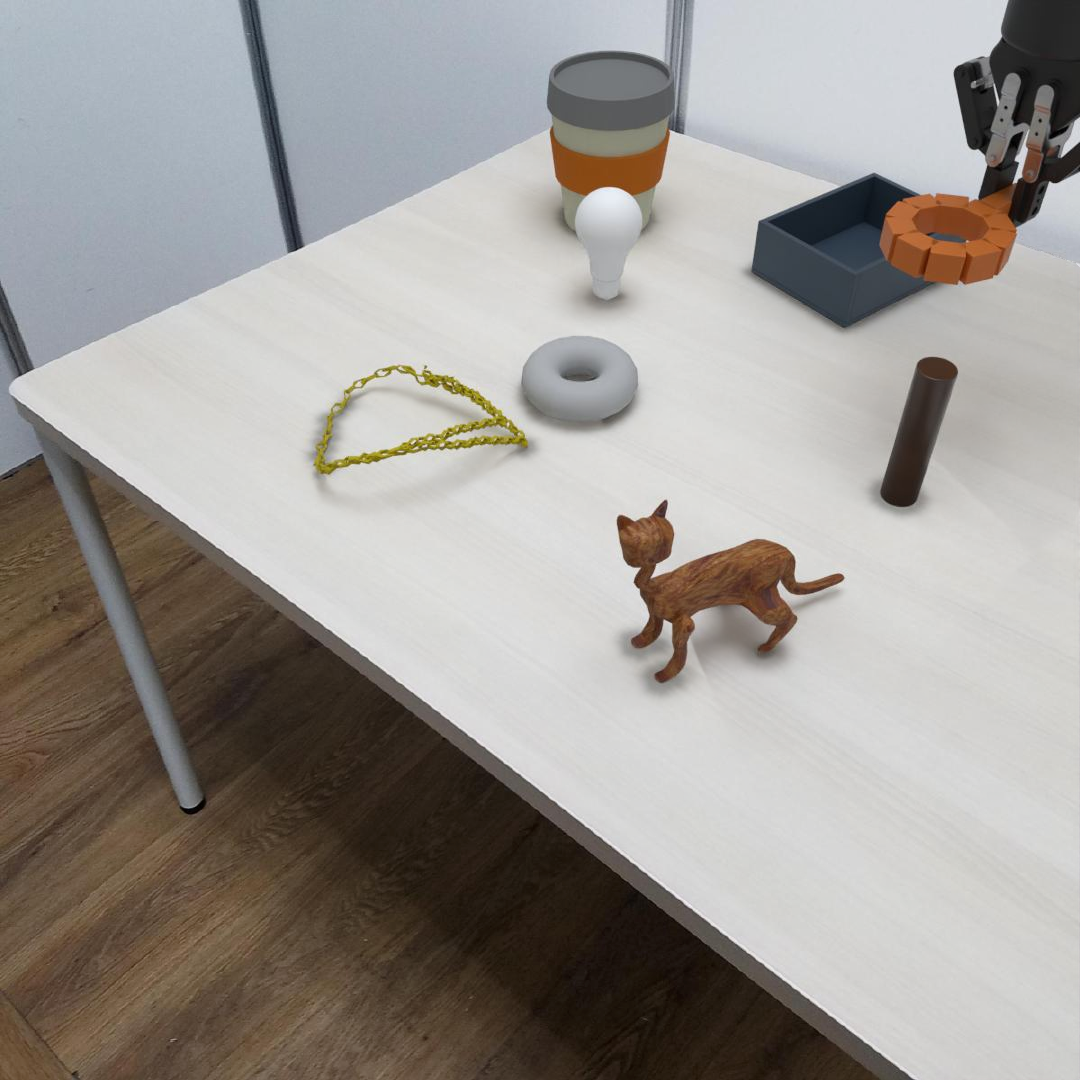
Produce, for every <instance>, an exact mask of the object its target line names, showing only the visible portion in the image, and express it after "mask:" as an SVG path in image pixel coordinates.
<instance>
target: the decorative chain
mask: <svg viewBox="0 0 1080 1080" xmlns="http://www.w3.org/2000/svg"><path fill="white" fill-rule="evenodd" d="M422 366H423V369H422V373H421V374H418V373H417V371H416V370H415V369H414V368H413V367H412V366H411V365H404V364H398V365H390V366H388V367H382V368H379V369H376V370H375V371H374V372H373V374H371V375H370V376H367V377H362V378H360V379H357V380H354V381H353V382H352V385H351V386H350V387H348V388H347V389H344V390H343V396H344V397H343V400H342V401H341V402H335V403H334V404H333V405H332V407H331V408H330V413H329V415H327V416H326V421H327V427H326V428H324V431H323V433H322V438H323V440H322V441H320V442H318V443H317V444H315V450H316V451H317V453H318V454H317V455H316V457H315V460H314V462H313V464H312V466H314V467H315V468H316V471H317V472H318V473H319V474H320V475H323V476H324V474H326V475H328V476H330V475H331V474H332V473H333V472H335V470H336V469H343V468H348V467H350V466H352V465H359V466H360V465H361V464H366V465H370V464H371V463H379V462H380V461H383V460H386V459H389V458H392V457H398V456H399V457H400V456H406V455H407V454H416V453H419V452H422V451H423V452H427V451H428V450H431V451H436V450H440V451H444V450H445V449H447V450H449V451H452V450H453V449H455V450H456V451H458V450H459V449H461V448H462V449H471V448H473V447H474V446H475V447H476V446H479V445H480V446H481V447H482V446H485V445H489V446H491V445H493V446H497V445H504V446H508V445H511V444H512V445H517V446H519V445H520V446H522V448H523V449H525V448H527V447H529V441H528V439H527V438H526V434H525V432H524V430H522V429H519V427H518V426H515V424H514V422H513V421H512V419H508V417H507V416H506V415H504V414H503V412H502V409H497V407H496V405H495V406H494V405H492V402H491V400H490V399H489V400H488V399H486V398H485V397H484V396H482V395H481V393H480V392H479V390H475V389H474V388H470V387H468V386H467V385H465V384H462V383H461V381H459V380H458V379H455V376H454V375H453V376H449V375H448V374H445V375H441V374H433V372H432V371H431V370H429V369H427V368H428V365H425V364H422ZM399 367H401V369H399ZM380 371H381V372H383V373H384V372H386V373H385V374H384V375H379V373H378V372H380ZM392 371H397V372H398V373H400V374H401V375H402V374H403V375H411V376H413V377H414V378H415V381H416V383H417V384H419V385H420V386H427V385H428V386H430V387H432V388H437V389H438V388H439V387H440V386H442V388H443V389H444V390H445V391H447V392H449V393H450V394H451V395H460V396H461V397H466V398H469V399H470V402H471V403H474V404H475V405H476V406H480V407H481V411H486V414H488V415H490V416H491V417H484V418H483V419H481V420H480V421H479V420H475V421H468V422H467V424H465V423H460V424H455V425H454V426H453V427H452V426H451V427H447V428H446V429H444V430H443V431H442V432H441V433H440V434H439V433H437V434H434V433H430V432H429V433H428V432H427V434H426V435H425V436H424V435H423V436H418V437H411V438H410V439H409V440H408V441H404V442H401V444H400V445H398V446H396V447H393V448H390V449H385V448H384V449H379V450H378V451H373V452H371V453H367V452H362V453H361V454H359V455H347V456H346V457H344V458H339V459H334V460H333V462H326V460H325V456H324V455H323V454H324V452H325V450H326V448H327V447H328V440H329V438H330V437H332V436H333V432H332V431H331V430H332V426H333V425H334V423H333V420H332V419H333V417H334V415H336V414H338V413H340V412H341V411H342V410H344V409H345V407H346V406H347V402H349V401H350V400H351V399H352V396H351V393H352V392H353V391H354V390H356V389H363V387H365V385H366V384H367V383H368V382H370V381H372V380H374V379H375V378H377V379H378V378H386V377H388V376H390V375H391V374H392ZM418 377H421V378H423V379H424V381H420V380H419V378H418ZM358 383H360V385H361V386H356V385H357V384H358ZM455 383H456V384H455ZM346 394H347V395H348V397H346ZM336 407H340V408H339V409H337V410H336V411H334V408H336ZM508 423H509V425H507V424H508ZM493 426H494V427H497V426H499V427H500V428H501V429H503V428H504V429H505V430H508V431H509V433H512V434H513V435H511V434H508V435H506V436H502V435H497V434H495V435H493V436H492V437H491V436H489V435H483V434H482V435H481V436H479V437H477V436H476V435H475V436H474V437H469V438H468V439H467V440H466V439H458V438H456V439H455V440H454V441H452V440H451V441H450V440H448V439H449V438H452V437H453V436H454V435H456V436H459V435H460V434H461V433H462V434H466V433H467V432H470V433H472V432H473V431H474V430H477V431H478V430H480V429H482V430H485V429H486V428H487V427H489V428H492V427H493ZM327 433H328V434H327ZM429 438H431V439H429ZM428 439H429V440H428ZM441 444H444V445H442V446H441ZM321 446H324V447H323V448H320V447H321Z"/></svg>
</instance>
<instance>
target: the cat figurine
mask: <svg viewBox="0 0 1080 1080" xmlns="http://www.w3.org/2000/svg"><path fill="white" fill-rule="evenodd" d="M668 505H669V502H668V499H664V500H663V501H661V503H660V504H659V505H658V506H657V507H656V508H655V509H654V511H653V512H652V514H651V515H649V516H647V517H640V518H639V519H636V520H633V519H632V518H630V517H629V516H627V515H624V514H618V516H617V518H616V528H617V531H618V539H619V544H620V548H621V552H622V558H623V560H624V562H625V563H626V565H627V566H629V567H631V568H633V569H638V568H639V570H638V571H637V572H636V574H635V576H634V579H633V582H632V583H633V584H634V585H635V586H636V588H637V589H639V596H640V598H641V599H642V600H643V602H644V604H645V605H646V608H647V611H648V615H649V616H648V620H647V622H646V624H645V626H644V627H643V628H642V630H641V632H640V633H638V634H637V635H635V636H634V637H631V639H630V643H631V645H632V647H634V648H635V649H644V648H646V647H648V646H650V645H651V644H653V643H654V642H655V641H657V639H658V638H659V637H660V636H661V634H662V631H663V628H664V621H666V622H668V623H670V624H671V632H672V633H671V634H672V635H671V643H672V648H673V653H672V656H671V657H670V659H669V661H668V662H667V664H666V665H665V667H664V668H662V669H661V670H659V671H656V672H655V673H654V674H653V676H654V680H655V681H656V682H658V683H660V684H664V683H666V682H668V681H670V680H671V679H673V678H675V677H676V676H677V675H679V674H680V672H681V671H682V670H683V669H684V667H685V665H686V662H687V657H688V641H689V639H690V637H691V636H692V634H693V632H694V631H695V630H696V625H695V622H694V620H693V618H692V617H693V616H694V615H696V614H697V613H698V612H700V611H705V610H708V609H712V608H716V607H723V606H724V607H725V606H736V605H737V606H741V607H743V608H745V609H747V610H748V611H749V612H750V613H752V614H753V616H755V617H756V618H757V619H758V620H759V621H760V622H761V623H763V624H765V625H770V626H773V627H775V628H774V629H773V630H772V632H771V633H770V635H769V637H768V639H767V641H766V642H764V643H761V644H760V645H759V646H758V647H757V650H756V651H757V652H758V653H767V652H770V651H772V650H774V649H775V648H776V646H777V645H779V643H780V642H781V641H782V640H783V639H784V638H785V637H786V636H787V635H788V634H789V632H790V631H792V629H793V628H794V626H795V625H796V624H797V622H798V616H797V615H796V614H795V612H793V611H792V609H791V607H790V606H789V605H788V603H787V602H786V601H785V600H784V599H783V597H781V594H780V592H779V589H778V585H779V583H781V586H782V587H784V589H785V590H786V591H787V592H788V593H790V594H791V595H795V596H806V595H812V594H815V593H818V592H821V591H824V590H826V589H828V588H831V587H834V586H836V585H838V584H840V583H842V582H843V581H844V580H845V578H846V577H845V576H844V574H843V573H839V572H838V573H833V574H830V575H827V576H824V577H821V578H818V579H815V580H812V581H806V582H799V581H797V580H796V575H795V573H796V572H795V571H796V564H797V561H796V557H795V555H794V554H793V553H792V552H791V550H790V549H788V548H787V547H786V546H784V545H782V544H780V543H777V542H775V541H772V540H768V539H765V538H755V539H750V540H748V541H745V542H743V543H741V544H738V545H736V546H734V547H731V548H728V549H725V550H721V551H718V552H717V551H716V552H714V553H710V554H706V555H704V556H701V557H698V558H695V559H693V560H691V561H689V562H686V563H684V564H683V565H680V566H679V567H677V568H675V569H673V570H672V571H668V572H665V573H661V574H659V575H656V576H653V575H654V573H655V571H656V568H657V564H660V563H662V562H663V561H665V560H667V559H669V558H670V556H671V554H672V548H673V543H674V538H675V530H674V526H673V525H672V523H671V522H670V520H669V519H667V517H666V515H667V510H668V507H669V506H668Z"/></svg>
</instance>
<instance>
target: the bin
mask: <svg viewBox="0 0 1080 1080" xmlns="http://www.w3.org/2000/svg"><path fill="white" fill-rule="evenodd" d="M920 195H921V194H920V193H918V192H915V191H913V190H912V189H909V188H907V187H905V186H904V185H901V184H899V183H897V182H896V181H895V182H894V180H891V179H889V178H886V176H885V177H884V176H882V175H880V174H878V173H876V172H872V173H870V174H868V175H865V176H863V177H861V178H860V177H859V178H858V179H855V180H853V181H850V182H848V183H846V184H843V185H841V186H839V187H837V188H834V189H831V190H829V191H827V192H824V193H822V194H820V195H817V196H815V197H812V198H810V199H808V200H806V201H803V202H801V203H798V204H796V205H794V206H791V207H789V208H786V209H784V210H782V211H779V212H777V213H775V214H772V215H770V216H767V217H765V218H763V219H760V220H758V221H757V229H756V235H755V236H756V237H755V243H754V250H753V251H754V252H753V257H752V263H751V264H752V265H751V273H752V274H754V275H756V276H757V277H759V278H761V279H763V280H764V281H766V282H768V283H769V284H771V285H773V286H774V287H776V288H778V289H779V290H781V291H783V292H784V293H786V294H787V295H789V296H790V297H793V298H794V299H796V300H798V301H799V302H801V303H803V304H804V305H806V306H807V307H809V308H811V309H813V310H814V311H815V312H817V313H818V314H820V315H822V316H824V317H825V318H827V319H829V320H831V321H833V322H834V323H836V324H838V325H839V326H840V327H843V328H846V327H848V326H850V325H852V324H854V323H856V322H858V321H860V320H862V319H864V318H866V317H868V316H870V315H871V314H875V313H876V312H878V311H880V310H882V309H884V308H886V307H888V306H890V305H892V304H894V303H896V302H898V301H900V300H902V299H904V298H907V297H908V296H910V295H912V294H915V293H916V292H918V291H920V290H922V289H924V288H926V287H928V286H930V285H932V284H934V283H935V282H931V281H924V280H923V277H924V275H922V276H920V277H918V278H915V277H913V276H911V275H909V274H907V273H905V272H903V271H901V270H900V269H898V268H896V267H894V266H892V265H891V262H892V261H889V262H887V261H886V258H885V256H884V254H883V252H882V250H881V248H880V245H879V244H880V238H881V234H882V230H883V225H884V221H885V216H886V214H887V213H888V212H889V210H890V209H891V208H892V207H893V206H894V205H895V204H896V203H897V202H898V201H900V202H902V201H903V199H906V198H911V197H916V196H920ZM925 235H927V236H929V237H931V238H933V239H935V240H940V241H948V242H956V243H965V242H968V241H967V240H965V239H963V238H961V237H959V236H957V235H950V234H942V233H934V232H932V233H927V234H925Z"/></svg>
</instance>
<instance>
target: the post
mask: <svg viewBox="0 0 1080 1080" xmlns="http://www.w3.org/2000/svg"><path fill="white" fill-rule="evenodd" d="M958 375H959V369H958V367H957V365H956V364H955V363H954V362H952V361H951V360H949V359H947V358H944V357H940V356H927V357H923V358H921V359H920V360H918V362H917V363H916V365H915V369H914V372H913V375H912V379H911V383H910V386H909V389H908V393H907V395H906V400H905V402H904V407H903V410H902V414H901V417H900V421H899V424H898V428H897V431H896V433H895V438H894V442H893V444H892V448H891V452H890V455H889V460H888V462H887V465H886V468H885V473H884V476H883V479H882V483H881V486H880V490H879V494H880V497H881V499H882V500H883V501H884V502H885V503H886V504H889V505H891V506H893V507H897V508H908V507H911V506H913V505H914V504H915V503H916V502H917V501H918V498H919V495H920V493H921V492H920V491H921V489H922V485H923V483H924V480H925V477H926V473H927V471H928V469H929V464H930V462H931V458H932V455H933V452H934V449H935V446H936V443H937V440H938V436H939V434H940V430H941V429H942V428H941V427H942V424H943V421H944V419H945V415H946V413H947V409H948V406H949V403H950V401H951V397H952V394H953V390H954V387H955V385H956V381H957V378H958Z"/></svg>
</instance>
